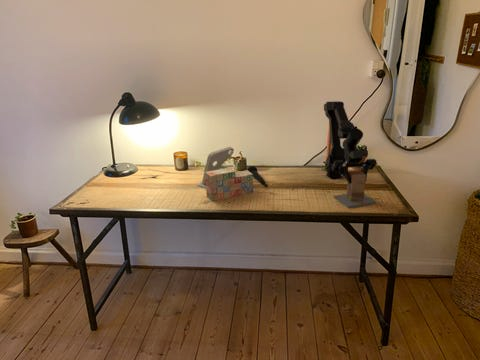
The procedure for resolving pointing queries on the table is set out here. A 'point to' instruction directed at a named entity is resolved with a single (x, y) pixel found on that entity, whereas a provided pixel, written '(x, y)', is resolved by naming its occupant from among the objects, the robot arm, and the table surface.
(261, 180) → the microphone
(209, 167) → the phone holder
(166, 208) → the table surface
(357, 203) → the charcoal base plate
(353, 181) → the walnut block
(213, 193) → the stack of blocks
